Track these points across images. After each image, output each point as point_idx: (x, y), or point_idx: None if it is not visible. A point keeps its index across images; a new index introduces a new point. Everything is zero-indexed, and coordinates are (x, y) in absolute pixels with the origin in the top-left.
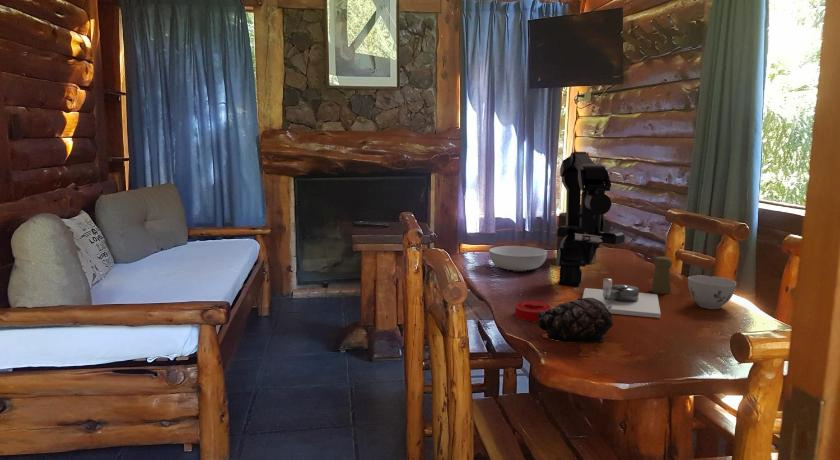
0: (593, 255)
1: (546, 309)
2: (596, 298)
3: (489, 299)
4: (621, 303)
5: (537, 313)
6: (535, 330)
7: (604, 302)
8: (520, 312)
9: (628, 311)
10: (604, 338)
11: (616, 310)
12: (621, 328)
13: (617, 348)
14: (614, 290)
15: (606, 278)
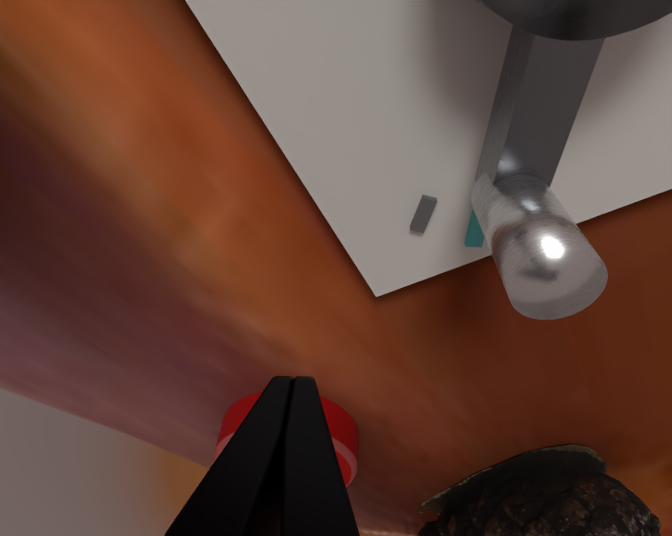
0: (347, 502)
1: (350, 475)
2: (359, 71)
3: (15, 391)
4: None
5: None
6: (389, 496)
7: (459, 129)
8: None
9: (666, 187)
10: (604, 466)
11: (584, 217)
12: (644, 364)
13: (656, 485)
14: (548, 73)
15: (533, 272)
